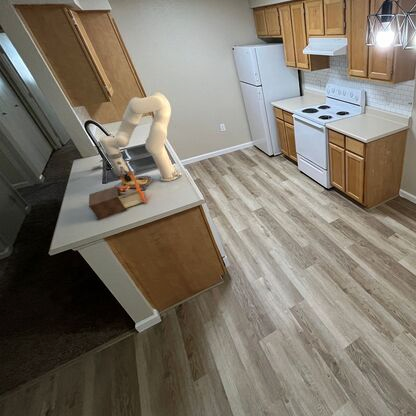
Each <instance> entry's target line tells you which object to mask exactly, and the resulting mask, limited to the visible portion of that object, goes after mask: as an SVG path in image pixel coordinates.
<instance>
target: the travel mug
mask: <svg viewBox="0 0 416 416" xmlns="http://www.w3.org/2000/svg"><path fill="white" fill-rule="evenodd" d="M105 155H106V158H107V159H108V161H109V162H110V164H111V166H112V167H113V169H114V170H115V172H116V174H117V176H118V177H119V178H120V176H119V175H120V174H122V173H120V171H119V170H118V168H117V166H116V165H115V163H114V161H113V160H110V158H109V157H108V155H107V153H106V152H105Z"/></svg>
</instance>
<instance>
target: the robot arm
mask: <svg viewBox="0 0 416 416" xmlns="http://www.w3.org/2000/svg"><path fill="white" fill-rule="evenodd" d="M152 112H154V116H153V120H152V122H151V125H150V128H149V132H148V135H147V137H146V139H145V144H144V145H145V147H144V148H145V149H146V151H147V152H148V153H149V154H150V155H151V156H152V159H153V161H154V162H155V165H156V167H157V169H158V171H159V173H160V176H161V177H160V181H162V182H171V181H174V180H176V179H178V178H179V177H180V176H182V172H181V171H180V170H179V171H178V170H177V169H175V167H174V166H173V162H172V161H171V157H169V156H170V155H169V154H168V152H167V149H166V146H165V143H166V140H167V138H168V126H169V123H170V119H171V114H172V107H171V104H170V102H169V100H168V98H167V97H166V95H164V94H163V93H161V92H159V91H153V92H151V93H150V94H149V96H145V97H142V98H141V97H139V96H135V97H132V98H131V99H130V100H129V102H128V104H127V106H126V109H125V111H124V113H123V116H122V118H121V122H120V125H119V127H118V129H117V131H116V134H115V136H111V135H106V136H102V137H100V138H99V140H98V141H99V143H100V145H101V147H102V148H103V150H104V152H105V154H106V153H107V155H108V157H109V158H110V160H113V161H114V163H115V165H116V166H117V168H118V170H119V171H120V173H122V174H123V176H124V178H125V180H126V181H127V182H128V181H132V179H131V177H130V176H129V175H128V173H127V172H130V169H129V166H128V165H127V163H126V161H125V159H124V155H123V153H122V150H121V149H120V148H126V147H128V145H129V144H130V140H131V138H132V135H133V133H134V131H135V129H136V128H137V127H138V126H139V124H140V122H141V119H142V117H143V115H144V114H148V113H152ZM107 155H106V156H107ZM108 157H107V158H108ZM110 160H109V161H110Z"/></svg>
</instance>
